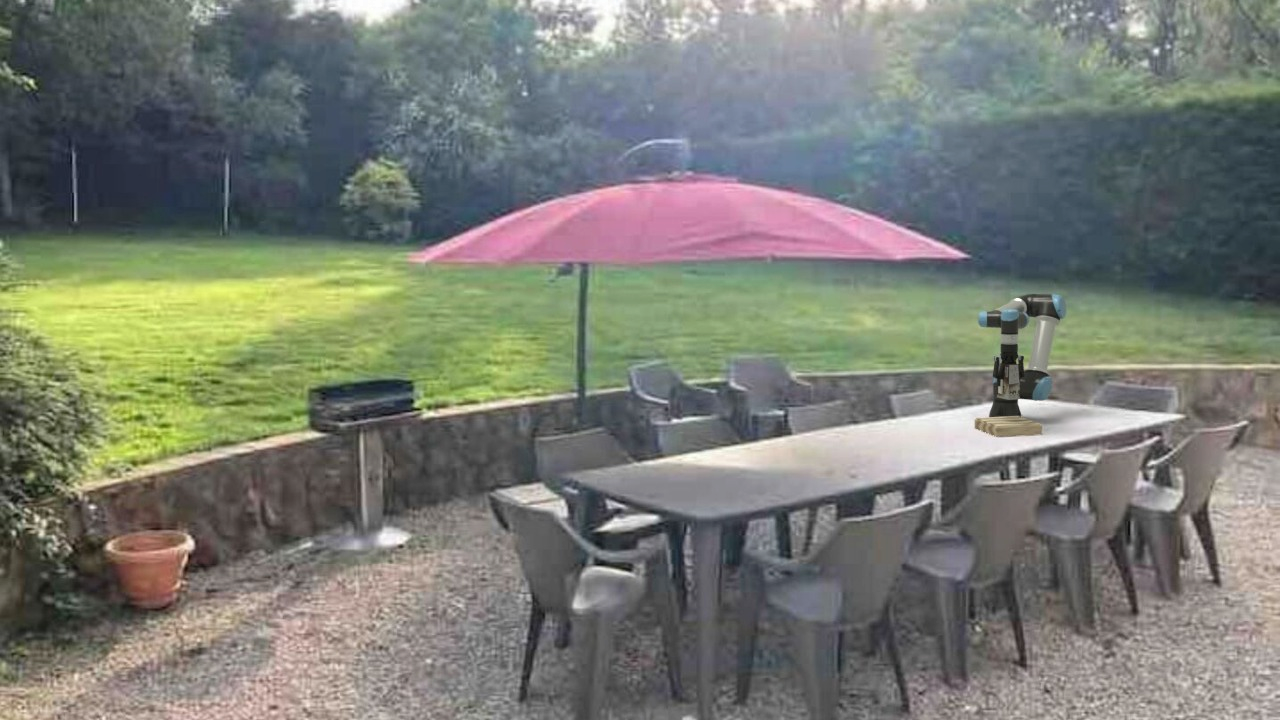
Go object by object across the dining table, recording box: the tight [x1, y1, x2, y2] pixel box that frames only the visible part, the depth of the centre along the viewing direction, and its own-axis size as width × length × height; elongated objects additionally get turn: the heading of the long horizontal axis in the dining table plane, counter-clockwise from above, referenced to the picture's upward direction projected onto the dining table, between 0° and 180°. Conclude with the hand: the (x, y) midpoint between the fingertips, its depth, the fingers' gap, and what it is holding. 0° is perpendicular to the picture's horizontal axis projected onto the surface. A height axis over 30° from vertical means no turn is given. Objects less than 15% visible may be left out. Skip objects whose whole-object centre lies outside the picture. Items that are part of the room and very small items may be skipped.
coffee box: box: [997, 362, 1021, 400], centre depth 508 cm, size 9×6×16 cm
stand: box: [974, 416, 1043, 438], centre depth 511 cm, size 22×22×5 cm
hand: (1008, 392), depth 508 cm, fingers closed on coffee box, 7 cm apart
